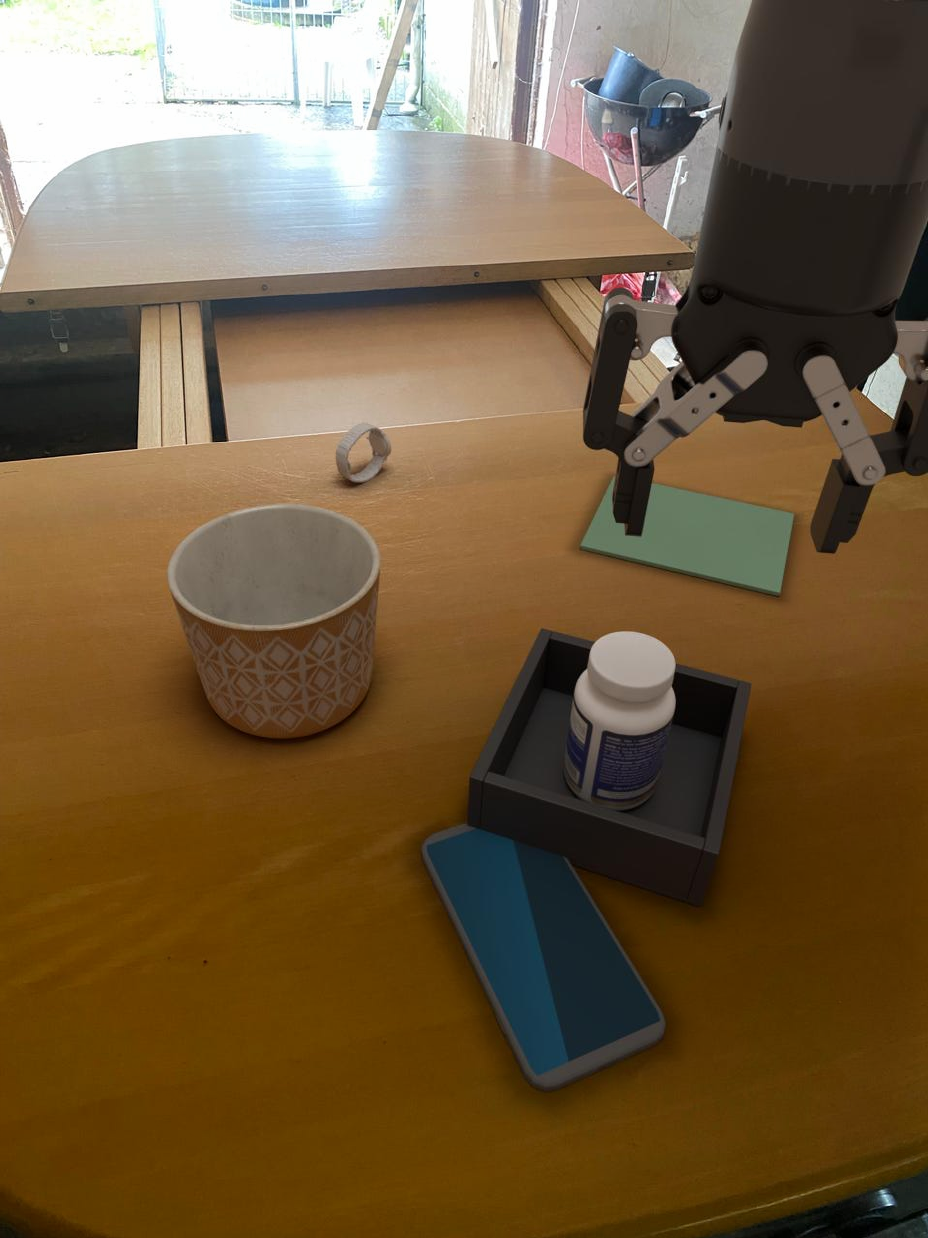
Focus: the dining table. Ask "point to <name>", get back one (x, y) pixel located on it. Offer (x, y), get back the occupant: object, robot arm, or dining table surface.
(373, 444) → the wristwatch
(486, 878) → the smartphone
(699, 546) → the mat
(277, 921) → the dining table surface
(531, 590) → the dining table surface
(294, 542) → the planter
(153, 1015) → the dining table surface
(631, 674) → the pill bottle
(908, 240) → the robot arm
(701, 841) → the black box
